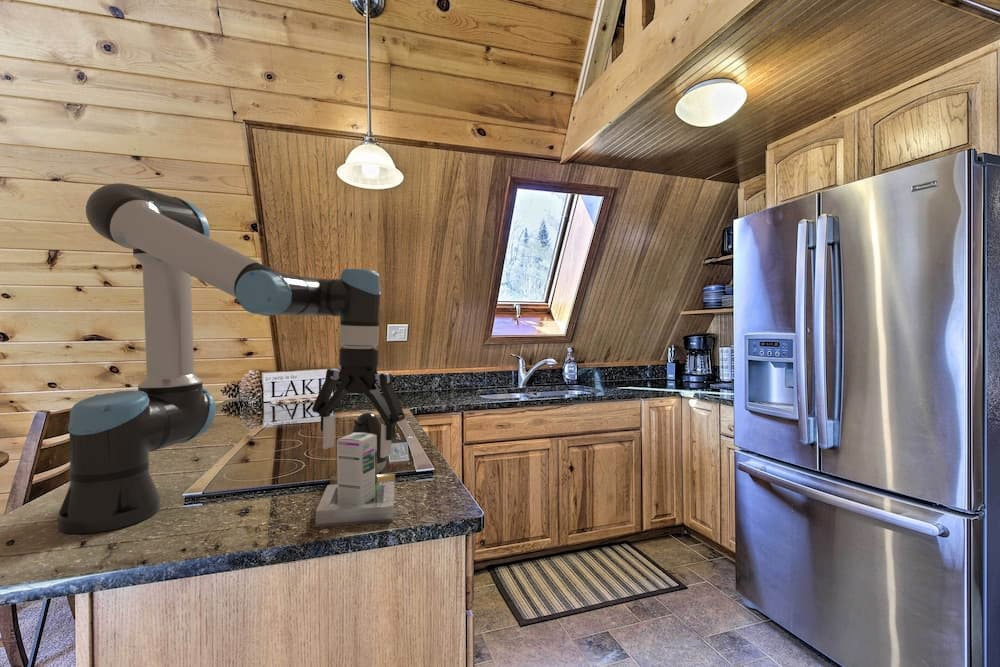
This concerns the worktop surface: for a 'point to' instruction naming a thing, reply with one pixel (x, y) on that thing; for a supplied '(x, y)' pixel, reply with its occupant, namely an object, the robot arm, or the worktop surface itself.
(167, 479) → the worktop surface
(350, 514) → the collar
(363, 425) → the black egg shape
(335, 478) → the brass rod
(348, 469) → the syrup box
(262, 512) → the worktop surface
